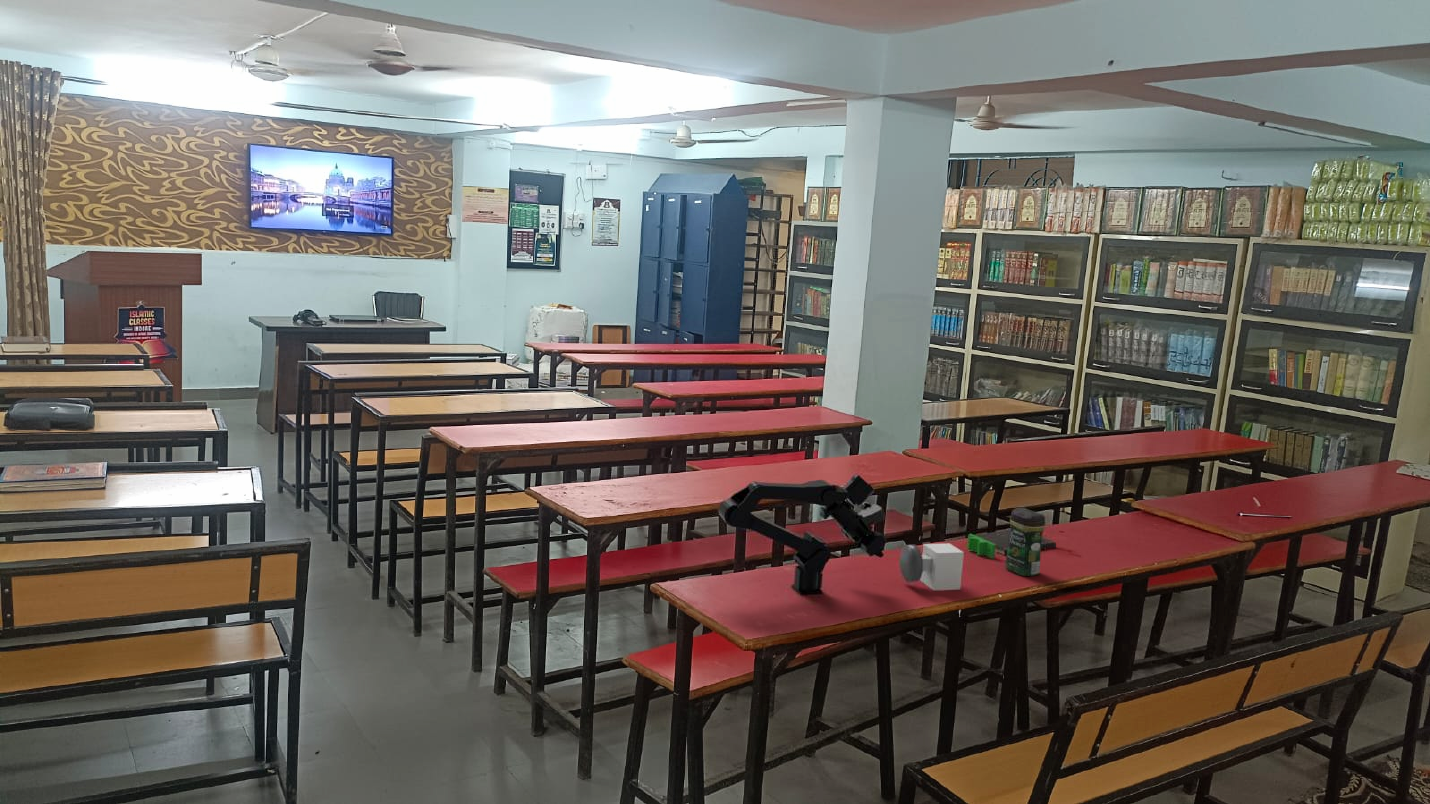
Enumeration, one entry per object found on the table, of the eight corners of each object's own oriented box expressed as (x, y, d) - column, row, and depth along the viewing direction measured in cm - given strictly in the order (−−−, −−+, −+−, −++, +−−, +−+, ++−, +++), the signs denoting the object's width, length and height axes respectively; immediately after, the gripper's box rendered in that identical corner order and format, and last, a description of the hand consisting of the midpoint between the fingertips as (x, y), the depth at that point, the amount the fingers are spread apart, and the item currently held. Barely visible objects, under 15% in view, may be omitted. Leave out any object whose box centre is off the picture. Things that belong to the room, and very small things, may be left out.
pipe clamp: (960, 549, 306) (961, 534, 306) (970, 548, 308) (971, 533, 307) (984, 559, 296) (986, 545, 296) (994, 558, 298) (995, 544, 297)
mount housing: (933, 590, 266) (937, 553, 264) (920, 580, 274) (923, 544, 272) (960, 589, 268) (963, 552, 266) (946, 579, 276) (949, 543, 274)
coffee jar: (999, 567, 289) (1006, 506, 286) (1020, 565, 292) (1026, 504, 289) (1023, 578, 280) (1030, 515, 277) (1044, 575, 284) (1051, 513, 281)
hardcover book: (966, 542, 314) (967, 535, 314) (1017, 535, 326) (1018, 528, 326) (1004, 557, 301) (1005, 550, 301) (1055, 549, 313) (1056, 542, 312)
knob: (914, 587, 263) (917, 551, 262) (898, 574, 273) (901, 540, 271) (938, 586, 265) (941, 550, 263) (921, 574, 274) (924, 539, 273)
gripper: (882, 505, 252) (918, 545, 256) (854, 487, 270) (888, 525, 274) (851, 536, 251) (888, 575, 256) (825, 516, 269) (860, 553, 273)
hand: (881, 556), depth 265 cm, fingers closed
